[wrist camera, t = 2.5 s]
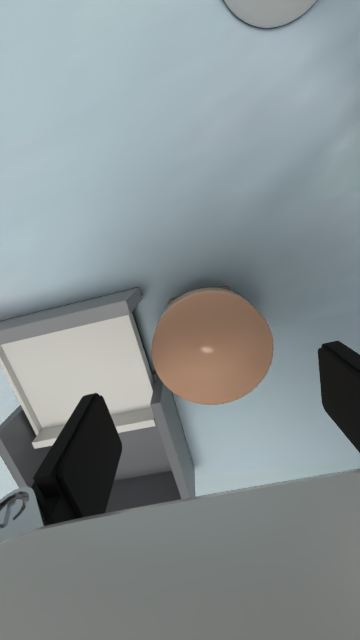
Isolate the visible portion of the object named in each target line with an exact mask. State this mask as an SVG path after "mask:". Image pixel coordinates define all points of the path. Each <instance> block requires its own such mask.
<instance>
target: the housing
mask: <svg viewBox="0 0 360 640" xmlns="http://www.w3.org/2000/svg"><path fill="white" fill-rule="evenodd" d="M151 374H152V377H153V380H154V384H155V385H154V389H153V394H152V398H151V403H150V405H151V408H152V411H153V415H154V418H155V421H156V426H153V427H148V428H142V429H137V430H132V431H126V432H121V433H118V435H119V437H120V440H121V442H122V453H121V456H120V460H119V464H118V467H117V471H116V475H115V478H114V482H113V486H112V489H111V493H110V497H109V500H108V504H107V508H106V511H105V513H109V512H114V511H120V510H125V509H131V508H136V507H142V506H147V505H153V504H158V503H164V502H169V501H175V500H180V499H186V498H191V497H195V474H194V465H193V462H192V459H191V455H190V452H189V448H188V445H187V442H186V438H185V435H184V432H183V428H182V425H181V421H180V418H179V415H178V411H177V408H176V405H175V401H174V398H173V394H172V391H171V390H169V389H168V388H167V387H166V386H165V385H164V383H163V382H162V381H161V379H160V378H159V376H158V374H157V373H156V372H154V373H151ZM35 438H36V434H35V432H34V430H33V428H32V426H31V424H30V422H29V420H28V418H27V416H26V414H25V412H24V410H23V408H22V406H21V405H20V406H19V407H18V408H17V409H16V410H15V411H14V412H13V413H12V414H11V415H10V416H9V417H8V418H7V419H6V420H5V421H4V422H3V423H2V424H1V425H0V456H1V457H2V459H3V461H4V462H5V464H6V466H7V468H8V469H9V471H10V473H11V474H12V476H13V478H14V480H15V481H16V483H17V485H18V487H19V488H22V487H29V488H31V486H32V485H33V483H34V479H33V477H34V475H35V473H36V472H37V470H38V469H39V467H40V465H41V464H42V462H43V460H44V459H45V457H46V455H47V454H48V452H49V450H50V449H51V447H52V446H53V445H52V446H47V447H42V448H36V449H35V448H34V447H33V445H32V442H33V440H34V439H35Z"/></svg>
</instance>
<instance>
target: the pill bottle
mask: <svg viewBox="0 0 360 640" xmlns="http://www.w3.org/2000/svg"><path fill="white" fill-rule="evenodd" d="M224 1H225V3H226V5H227V6H228V7H229V9H230V10H231V11H232V12H233V13H234V14H235V15H236V16H237V17H238V18H240V19H241V20H243V21H244V22H246V23H248V24H250V25H253V26H256V27H262V28H272V27H278V26H282V25H285V24H287V23H289V22H291V21H293V20H295V19H297V18H298V17H300V16H301V15H302V14H304V13H305V12H306V11H307V10H308V9H309V8H310V7H311V6H312V5H313V4H314V3H315V2H316V1H317V0H224Z"/></svg>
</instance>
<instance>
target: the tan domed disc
mask: <svg viewBox="0 0 360 640" xmlns="http://www.w3.org/2000/svg"><path fill="white" fill-rule="evenodd" d="M272 357H273V339H272V334H271V331H270V329H269V326H268V324H267V322H266V321H265V319H264V318H263V316H262V315H261V314H260V313H259V312H258V311H257V310H256V309H255V308H254V307H253V306H252V305H251V304H250V303H249V302H248V301H247V300H246V299H245V298H243V297H242V296H240V295H238V294H236V293H235V292H232V291H229V290H226V289H222V288H213V287H211V288H200V289H196V290H193V291H190V292H187V293H185V294H183V295H181V296H180V297H178V298H177V299H176V300H174V301H173V302H172V303H171V304H170V305H169V306H168V307H167V308H166V310H165V311H164V312H163V314H162V316H161V318H160V320H159V322H158V325H157V328H156V331H155V334H154V337H153V341H152V360H153V365H154V368H155V370H156V373H157V374H158V376H159V378H160V379H161V381H162V382H163V383H164V385H165V386H166V387H167V388H168V389H169V390H171V391H172V392H173V393H174V394H176V395H178V396H179V397H181V398H183V399H185V400H188V401H191V402H194V403H198V404H206V405H217V404H224V403H228V402H231V401H234V400H237V399H239V398H241V397H243V396H245V395H246V394H248V393H249V392H251V391H252V390H253V389H254V388H255V387H256V386H257V385H258V384H259V383H260V382H261V381H262V380H263V378H264V377H265V375H266V373H267V371H268V370H269V367H270V364H271V361H272Z"/></svg>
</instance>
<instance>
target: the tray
mask: <svg viewBox="0 0 360 640" xmlns="http://www.w3.org/2000/svg"><path fill="white" fill-rule="evenodd" d="M141 299H142V296H141V293H140V290H139V287H138V288H134V289H130V290H126V291H122V292H118V293H114V294H110V295H106V296H102V297H98V298H93V299H89V300H85V301H81V302H77V303H73V304H69V305H65V306H61V307H57V308H53V309H49V310H45V311H40V312H36V313H32V314H28V315H24V316H20V317H16V318H12V319H8V320H4V321H0V365H1V367H2V369H3V371H4V373H5V375H6V377H7V379H8V381H9V383H10V385H11V387H12V389H13V391H14V393H15V395H16V397H17V399H18V401H19V402H20V404H21V406H22V408H23V410H24V412H25V414H26V416H27V418H28V420H29V422H30V424H31V426H32V428H33V430H34V432H35V434H36V438H35V439H34V440H33V442H32V445H33V447H34V448H35V449H36V448H42V447H47V446H52V445H53V444H54V442H55V441H56V439H57V437H58V436H59V434H60V432H61V431H62V429H63V428H64V426H65V424H66V423H67V421H68V419H69V418H70V416H71V414H72V413H73V411H74V410H75V408H76V406H77V405H78V403H79V401H80V400H81V398H82V397H83V396H84V395H89V394H93V393H98V394H99V396H100V395H102V396H103V398H104V400H105V403H106V405H107V407H108V410H109V412H110V415H111V417H112V420H113V422H114V425H115V427H116V430H117V432H118V433H121V432H126V431H132V430H137V429H142V428H148V427H153V426H156V421H155V418H154V415H153V411H152V408H151V405H150V403H151V398H152V394H153V389H154V385H155V384H154V380H153V377H152V374H151V371H150V368H149V365H148V361H147V358H146V355H145V352H144V349H143V346H142V342H141V339H140V336H139V333H138V330H137V327H136V323H135V320H134V317H133V314H132V311H133V310H134V309H135V307H136V306H137V305H138V303H139V302H140V301H141Z"/></svg>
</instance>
